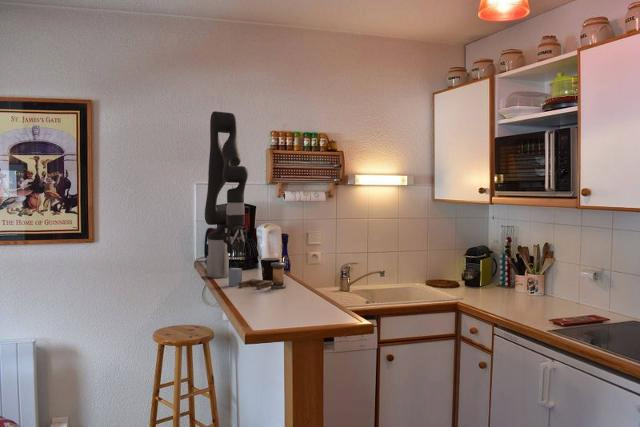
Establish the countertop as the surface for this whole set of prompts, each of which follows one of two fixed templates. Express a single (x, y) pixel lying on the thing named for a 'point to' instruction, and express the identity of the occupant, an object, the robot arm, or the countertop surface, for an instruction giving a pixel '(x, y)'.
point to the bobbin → (278, 275)
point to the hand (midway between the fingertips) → (235, 252)
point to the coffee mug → (268, 268)
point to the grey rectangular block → (235, 276)
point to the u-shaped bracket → (255, 283)
